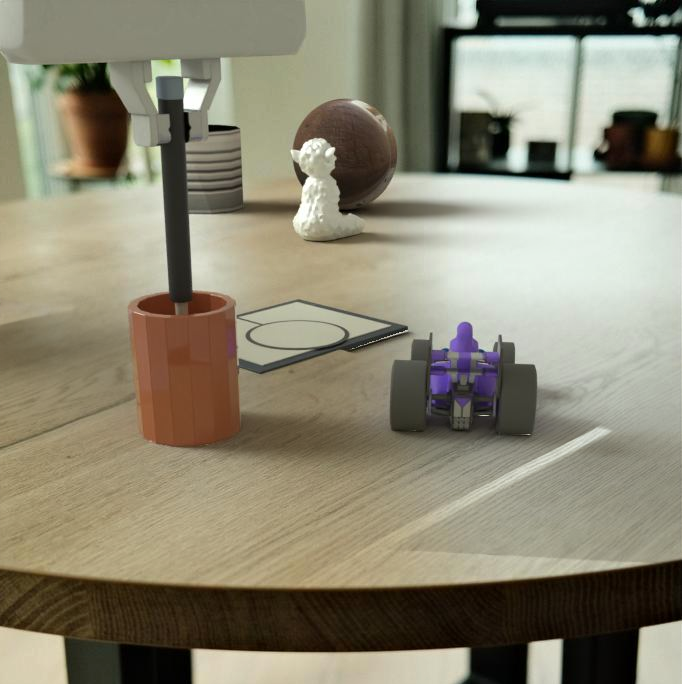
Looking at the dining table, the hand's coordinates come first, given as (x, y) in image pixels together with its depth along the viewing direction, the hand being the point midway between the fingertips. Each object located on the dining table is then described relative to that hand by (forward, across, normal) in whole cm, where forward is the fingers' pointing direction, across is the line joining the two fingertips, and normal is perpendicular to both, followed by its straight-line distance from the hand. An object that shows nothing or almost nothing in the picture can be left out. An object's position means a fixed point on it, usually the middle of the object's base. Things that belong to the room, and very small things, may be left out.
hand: (171, 143), depth 61 cm
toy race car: (+19, -17, +10) cm, 27 cm away
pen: (+10, 0, 0) cm, 11 cm away
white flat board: (+19, -20, -12) cm, 30 cm away
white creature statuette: (+19, -55, -41) cm, 71 cm away
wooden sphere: (+19, -72, -53) cm, 91 cm away
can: (+19, -59, -69) cm, 93 cm away
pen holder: (+19, 0, 0) cm, 19 cm away
